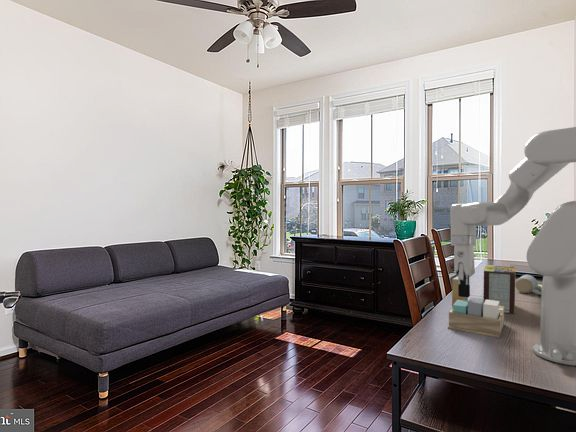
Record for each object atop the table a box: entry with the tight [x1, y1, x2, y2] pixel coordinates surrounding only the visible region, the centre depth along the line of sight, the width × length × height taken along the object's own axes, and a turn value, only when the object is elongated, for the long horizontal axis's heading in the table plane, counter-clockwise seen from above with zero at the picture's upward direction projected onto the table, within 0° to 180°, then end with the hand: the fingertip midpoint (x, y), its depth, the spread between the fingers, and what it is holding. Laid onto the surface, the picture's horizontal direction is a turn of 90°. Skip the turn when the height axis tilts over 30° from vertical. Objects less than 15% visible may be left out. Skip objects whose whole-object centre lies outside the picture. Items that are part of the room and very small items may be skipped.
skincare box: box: [451, 276, 469, 309], centre depth 140 cm, size 6×4×12 cm
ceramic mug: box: [515, 274, 542, 296], centre depth 168 cm, size 11×8×8 cm
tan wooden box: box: [447, 300, 505, 339], centre depth 121 cm, size 16×15×6 cm
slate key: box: [468, 296, 484, 317], centre depth 119 cm, size 7×4×5 cm, turn 145°
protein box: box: [482, 264, 516, 315], centre depth 143 cm, size 10×15×16 cm
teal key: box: [453, 301, 468, 315], centre depth 122 cm, size 7×4×5 cm, turn 145°
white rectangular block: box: [483, 299, 499, 319], centre depth 116 cm, size 7×4×5 cm, turn 145°
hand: (464, 296), depth 121 cm, fingers closed
